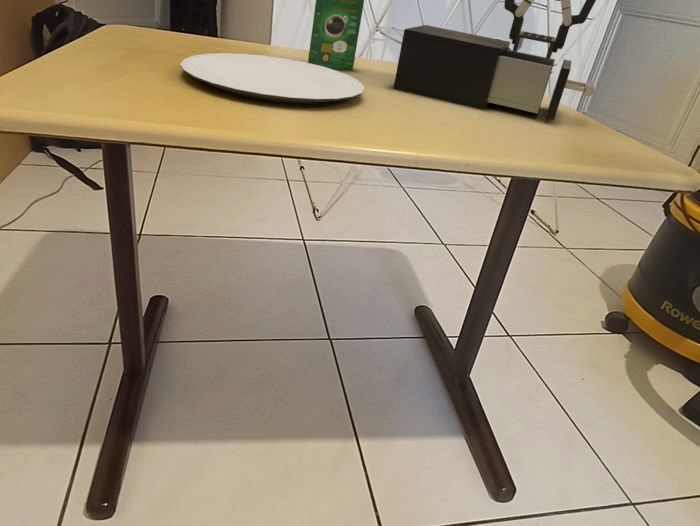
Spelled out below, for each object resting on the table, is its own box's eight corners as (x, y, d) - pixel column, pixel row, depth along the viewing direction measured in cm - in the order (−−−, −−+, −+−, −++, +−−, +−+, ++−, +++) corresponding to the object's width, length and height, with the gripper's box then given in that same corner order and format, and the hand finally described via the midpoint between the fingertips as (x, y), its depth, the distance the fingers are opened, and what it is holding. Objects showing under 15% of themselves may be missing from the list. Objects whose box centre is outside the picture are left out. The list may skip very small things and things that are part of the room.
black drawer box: (495, 97, 96) (510, 41, 92) (483, 111, 85) (500, 48, 81) (414, 79, 100) (425, 24, 95) (392, 90, 88) (404, 28, 84)
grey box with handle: (583, 112, 92) (599, 66, 88) (583, 127, 81) (601, 76, 78) (477, 88, 96) (488, 43, 93) (464, 99, 86) (477, 50, 82)
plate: (385, 119, 71) (388, 105, 70) (180, 102, 64) (180, 85, 63) (339, 75, 92) (340, 63, 91) (180, 58, 84) (180, 45, 83)
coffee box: (345, 68, 99) (356, -14, 92) (354, 72, 97) (367, -12, 90) (306, 67, 94) (315, -20, 88) (315, 71, 92) (325, -17, 86)
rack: (552, 53, 88) (557, 37, 87) (549, 58, 81) (555, 41, 80) (517, 46, 89) (521, 30, 88) (512, 51, 83) (517, 33, 82)
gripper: (517, -92, 76) (484, 40, 84) (628, -77, 72) (582, 60, 80) (522, -85, 82) (491, 37, 90) (624, -71, 78) (582, 55, 87)
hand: (534, 47), depth 85 cm, fingers closed on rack, 5 cm apart
